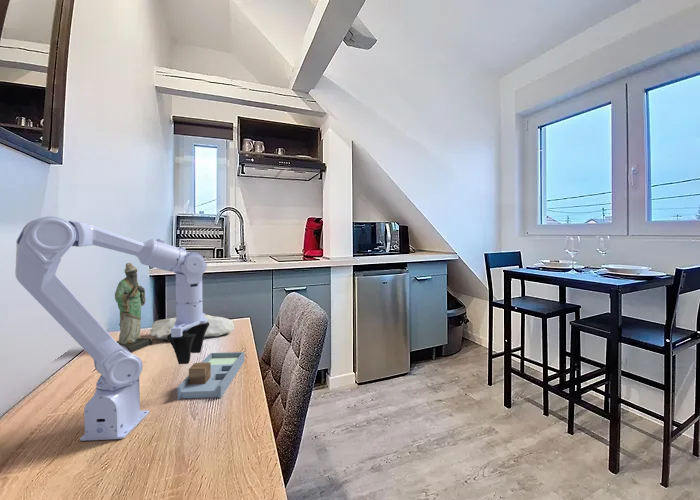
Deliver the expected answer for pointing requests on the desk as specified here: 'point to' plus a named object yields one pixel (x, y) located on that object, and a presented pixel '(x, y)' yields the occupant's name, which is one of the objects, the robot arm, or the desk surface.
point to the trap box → (214, 376)
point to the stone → (214, 329)
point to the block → (199, 373)
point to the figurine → (130, 310)
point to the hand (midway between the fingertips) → (190, 357)
